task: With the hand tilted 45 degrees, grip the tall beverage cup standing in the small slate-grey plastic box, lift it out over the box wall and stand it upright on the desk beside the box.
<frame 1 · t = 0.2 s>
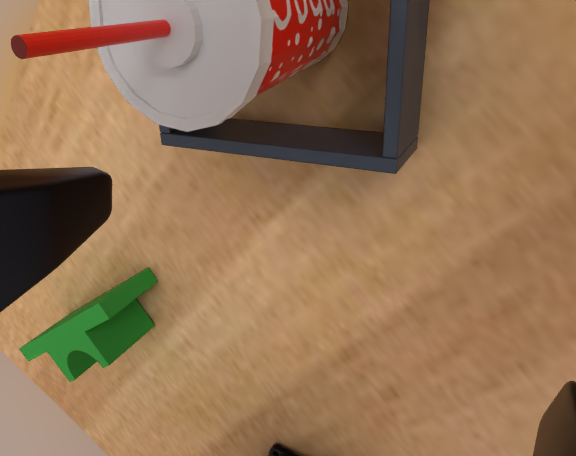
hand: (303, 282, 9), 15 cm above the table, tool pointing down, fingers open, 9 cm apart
beverage cup: (299, 10, 22), resting in box
pipe clamp: (120, 311, 37), on the table
box: (298, 10, 22), on the table
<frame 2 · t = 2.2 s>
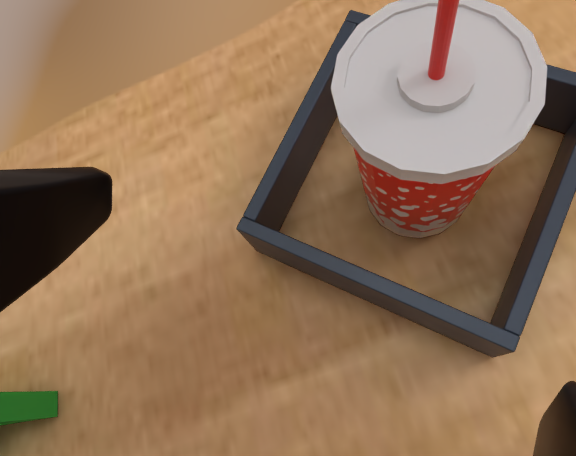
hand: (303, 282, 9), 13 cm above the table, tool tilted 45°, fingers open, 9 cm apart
beverage cup: (415, 191, 23), resting in box
box: (415, 190, 23), on the table
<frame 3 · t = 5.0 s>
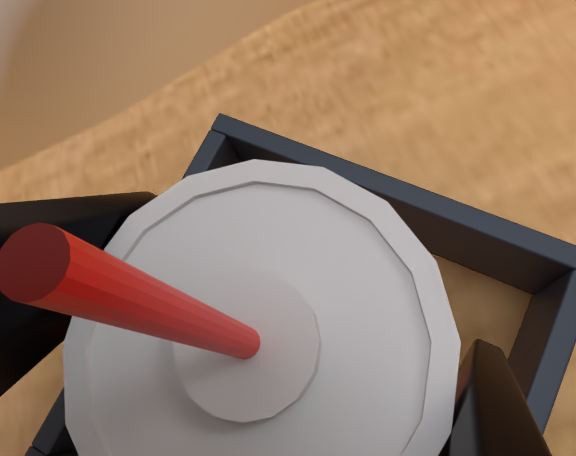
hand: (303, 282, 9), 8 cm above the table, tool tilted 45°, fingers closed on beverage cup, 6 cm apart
beverage cup: (318, 370, 16), resting in box, touching gripper
box: (317, 370, 16), on the table
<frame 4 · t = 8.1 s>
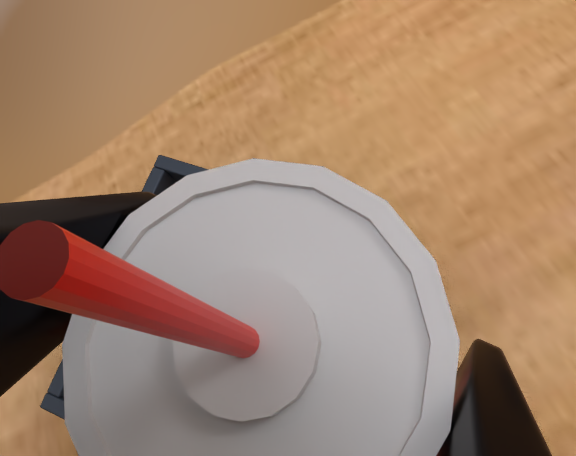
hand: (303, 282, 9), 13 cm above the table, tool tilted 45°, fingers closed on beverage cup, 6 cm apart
beverage cup: (318, 370, 16), point 5 cm above the table, touching gripper
box: (245, 330, 23), on the table
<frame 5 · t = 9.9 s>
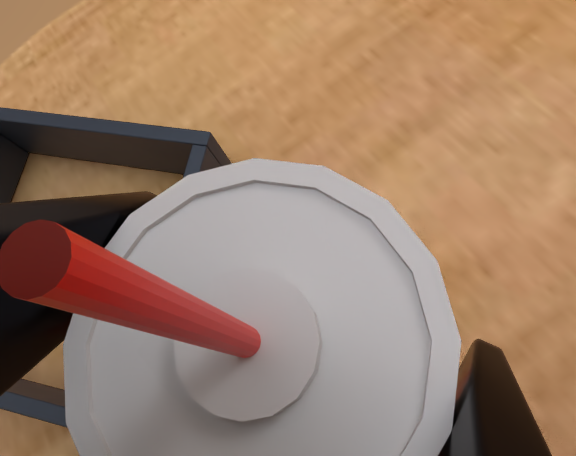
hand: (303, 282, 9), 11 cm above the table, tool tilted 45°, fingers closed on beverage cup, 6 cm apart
beverage cup: (318, 370, 16), point 3 cm above the table, touching gripper
box: (86, 269, 22), on the table
when the fingers open (8 cm above the table, at t = 11.4 s): beverage cup stays where it is, on the table.
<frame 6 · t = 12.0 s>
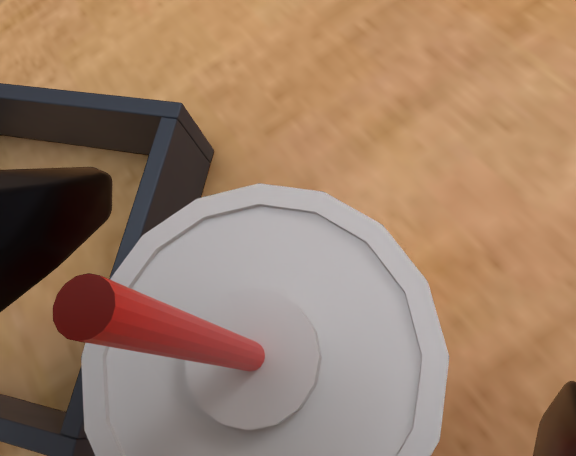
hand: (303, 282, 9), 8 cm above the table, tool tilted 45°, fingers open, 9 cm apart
beverage cup: (318, 376, 17), on the table
box: (45, 261, 20), on the table
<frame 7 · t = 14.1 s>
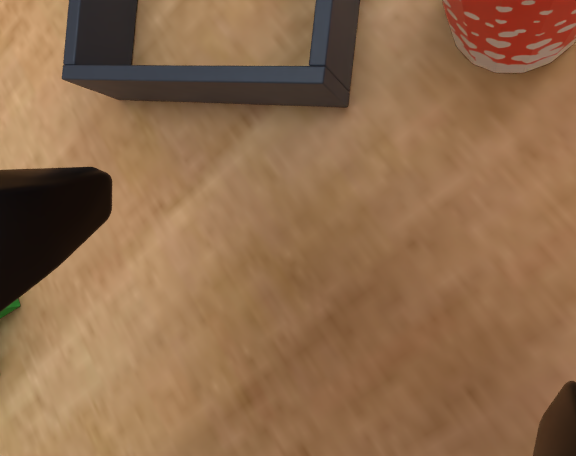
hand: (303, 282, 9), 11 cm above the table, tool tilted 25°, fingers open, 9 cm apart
beverage cup: (516, 11, 18), on the table
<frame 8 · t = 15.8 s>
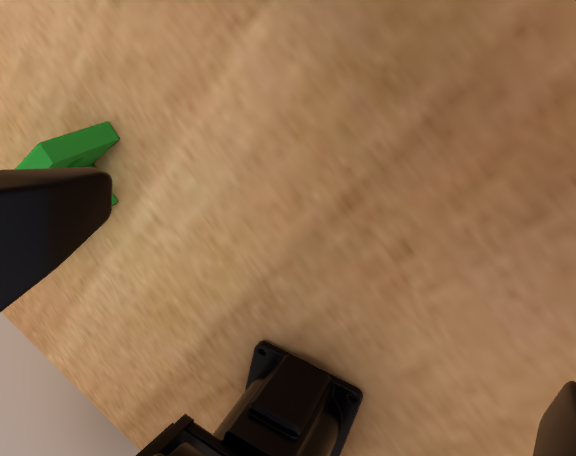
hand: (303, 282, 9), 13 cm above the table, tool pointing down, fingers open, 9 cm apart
pipe clamp: (78, 191, 31), on the table
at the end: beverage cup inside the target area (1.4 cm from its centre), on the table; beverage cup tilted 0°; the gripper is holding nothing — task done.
